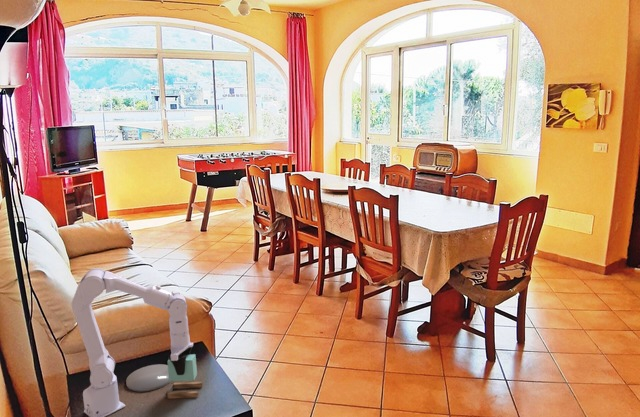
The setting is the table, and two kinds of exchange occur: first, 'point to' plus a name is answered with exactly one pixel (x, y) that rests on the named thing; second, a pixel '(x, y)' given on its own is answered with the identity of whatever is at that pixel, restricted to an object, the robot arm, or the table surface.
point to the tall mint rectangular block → (189, 370)
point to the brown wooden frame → (183, 394)
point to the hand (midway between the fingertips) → (182, 370)
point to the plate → (148, 378)
